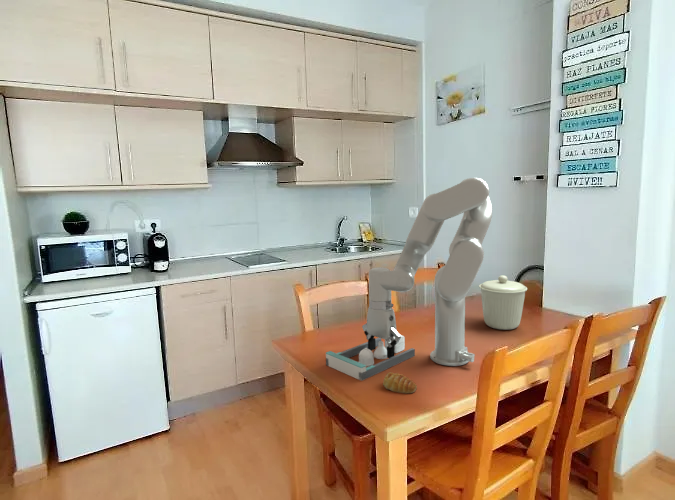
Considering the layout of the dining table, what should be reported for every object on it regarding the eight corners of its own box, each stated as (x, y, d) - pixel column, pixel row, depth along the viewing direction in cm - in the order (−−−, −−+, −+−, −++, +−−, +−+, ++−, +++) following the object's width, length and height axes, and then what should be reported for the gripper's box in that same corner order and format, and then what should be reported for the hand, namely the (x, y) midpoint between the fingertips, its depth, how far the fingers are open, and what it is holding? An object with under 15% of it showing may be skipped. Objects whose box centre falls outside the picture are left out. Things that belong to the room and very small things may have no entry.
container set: (393, 346, 150) (393, 332, 149) (405, 350, 146) (404, 335, 146) (355, 363, 137) (354, 347, 136) (366, 368, 133) (366, 352, 132)
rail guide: (414, 355, 141) (414, 343, 140) (361, 380, 124) (361, 367, 123) (379, 343, 153) (378, 332, 152) (326, 365, 136) (325, 352, 135)
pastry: (420, 388, 118) (420, 375, 118) (410, 398, 113) (410, 385, 112) (391, 380, 124) (391, 368, 123) (380, 389, 118) (380, 377, 118)
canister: (536, 329, 163) (538, 277, 160) (500, 336, 157) (501, 282, 154) (502, 316, 180) (503, 269, 177) (469, 322, 173) (469, 273, 170)
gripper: (407, 306, 135) (408, 357, 137) (369, 297, 148) (370, 344, 150) (393, 311, 130) (393, 364, 132) (354, 301, 143) (355, 350, 145)
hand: (381, 353), depth 141 cm, fingers open, 8 cm apart
